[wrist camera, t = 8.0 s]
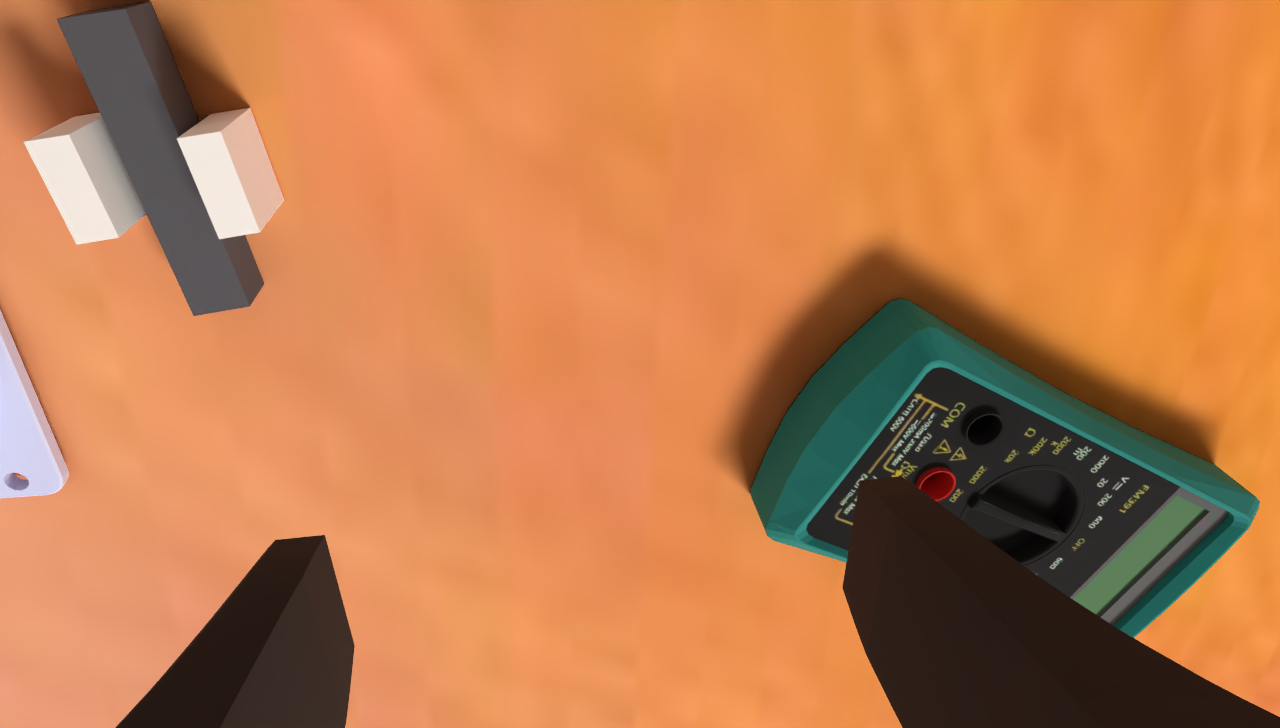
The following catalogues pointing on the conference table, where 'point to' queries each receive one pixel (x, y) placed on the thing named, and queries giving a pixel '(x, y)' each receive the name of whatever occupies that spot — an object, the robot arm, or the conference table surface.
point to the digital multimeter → (998, 468)
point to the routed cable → (158, 160)
